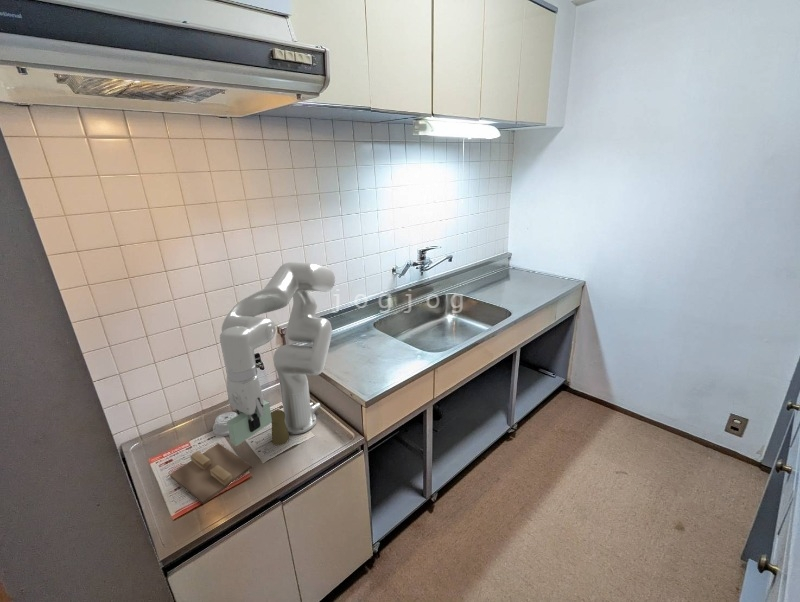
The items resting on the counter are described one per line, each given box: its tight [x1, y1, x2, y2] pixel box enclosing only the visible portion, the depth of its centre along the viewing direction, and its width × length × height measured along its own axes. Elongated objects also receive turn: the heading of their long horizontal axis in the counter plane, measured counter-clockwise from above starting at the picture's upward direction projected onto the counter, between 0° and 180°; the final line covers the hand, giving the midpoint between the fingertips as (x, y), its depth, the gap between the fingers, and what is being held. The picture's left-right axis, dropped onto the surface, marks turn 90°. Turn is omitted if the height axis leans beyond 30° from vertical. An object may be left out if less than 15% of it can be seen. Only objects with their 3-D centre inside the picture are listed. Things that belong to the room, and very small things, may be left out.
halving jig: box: [169, 443, 253, 506], centre depth 115 cm, size 16×18×3 cm
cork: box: [270, 409, 291, 446], centre depth 127 cm, size 6×6×11 cm
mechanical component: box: [212, 411, 238, 437], centre depth 134 cm, size 10×4×10 cm
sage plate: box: [227, 399, 272, 447], centre depth 106 cm, size 12×2×7 cm, turn 147°
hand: (251, 426), depth 106 cm, fingers closed on sage plate, 2 cm apart
